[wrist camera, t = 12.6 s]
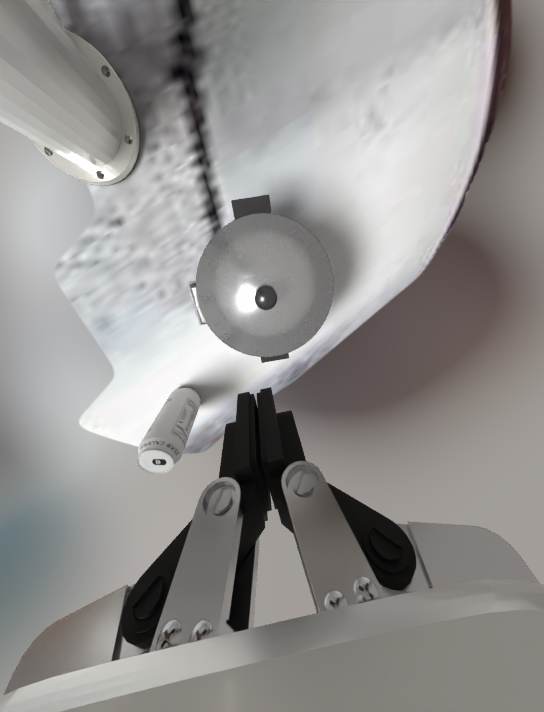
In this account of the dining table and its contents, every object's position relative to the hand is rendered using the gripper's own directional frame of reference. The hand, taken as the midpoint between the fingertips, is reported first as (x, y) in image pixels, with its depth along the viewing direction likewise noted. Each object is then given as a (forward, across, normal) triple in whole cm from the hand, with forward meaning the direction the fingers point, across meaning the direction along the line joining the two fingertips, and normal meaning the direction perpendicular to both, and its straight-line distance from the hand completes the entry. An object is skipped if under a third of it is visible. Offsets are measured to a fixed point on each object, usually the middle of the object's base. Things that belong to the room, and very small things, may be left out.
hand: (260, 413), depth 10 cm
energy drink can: (+28, +17, +16) cm, 36 cm away
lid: (+19, -2, -2) cm, 20 cm away
